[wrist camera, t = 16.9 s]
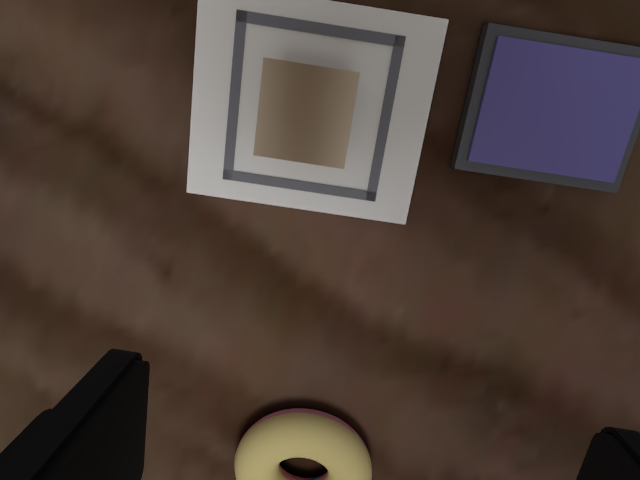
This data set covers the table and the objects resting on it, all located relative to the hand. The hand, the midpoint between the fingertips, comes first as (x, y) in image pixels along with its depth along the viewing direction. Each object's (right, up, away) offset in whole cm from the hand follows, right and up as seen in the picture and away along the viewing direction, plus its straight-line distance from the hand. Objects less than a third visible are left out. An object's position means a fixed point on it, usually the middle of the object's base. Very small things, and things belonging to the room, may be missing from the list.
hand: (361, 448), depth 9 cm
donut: (-2, -12, +25) cm, 28 cm away
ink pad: (+13, +12, +17) cm, 24 cm away
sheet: (-1, +12, +17) cm, 21 cm away
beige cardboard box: (-1, +12, +17) cm, 21 cm away
